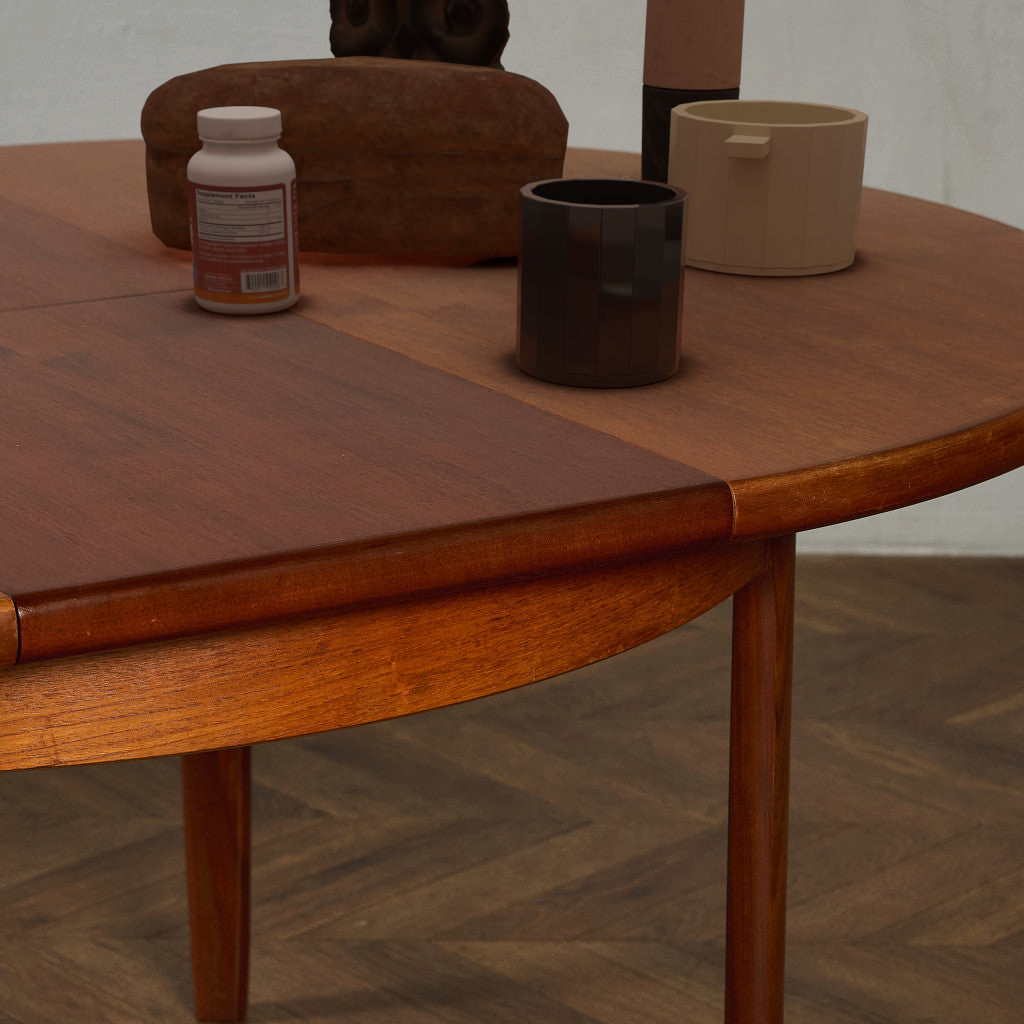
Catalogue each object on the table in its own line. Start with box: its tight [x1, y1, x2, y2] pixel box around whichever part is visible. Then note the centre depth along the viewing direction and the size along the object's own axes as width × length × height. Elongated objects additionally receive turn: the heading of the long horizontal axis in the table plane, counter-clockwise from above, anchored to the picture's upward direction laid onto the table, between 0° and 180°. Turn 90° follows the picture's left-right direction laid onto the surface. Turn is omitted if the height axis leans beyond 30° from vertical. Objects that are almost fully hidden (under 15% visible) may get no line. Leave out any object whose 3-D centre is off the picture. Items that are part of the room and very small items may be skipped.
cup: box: [515, 176, 689, 389], centre depth 83 cm, size 8×8×9 cm
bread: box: [139, 56, 570, 259], centre depth 109 cm, size 14×28×12 cm, turn 90°
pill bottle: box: [187, 106, 301, 315], centre depth 94 cm, size 6×6×11 cm
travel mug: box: [640, 0, 746, 184], centre depth 128 cm, size 8×8×20 cm
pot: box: [668, 99, 869, 277], centre depth 109 cm, size 13×18×10 cm
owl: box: [328, 0, 511, 71], centre depth 128 cm, size 13×13×20 cm
